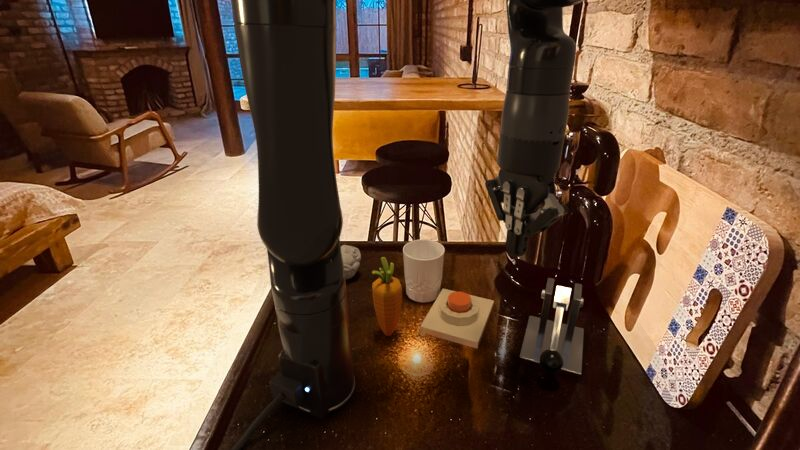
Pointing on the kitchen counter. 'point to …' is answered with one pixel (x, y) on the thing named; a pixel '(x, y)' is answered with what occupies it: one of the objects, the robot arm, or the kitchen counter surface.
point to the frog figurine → (350, 260)
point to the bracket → (570, 335)
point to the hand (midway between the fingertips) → (515, 254)
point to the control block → (457, 320)
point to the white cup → (423, 269)
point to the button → (459, 302)
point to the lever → (556, 331)
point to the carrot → (387, 298)
